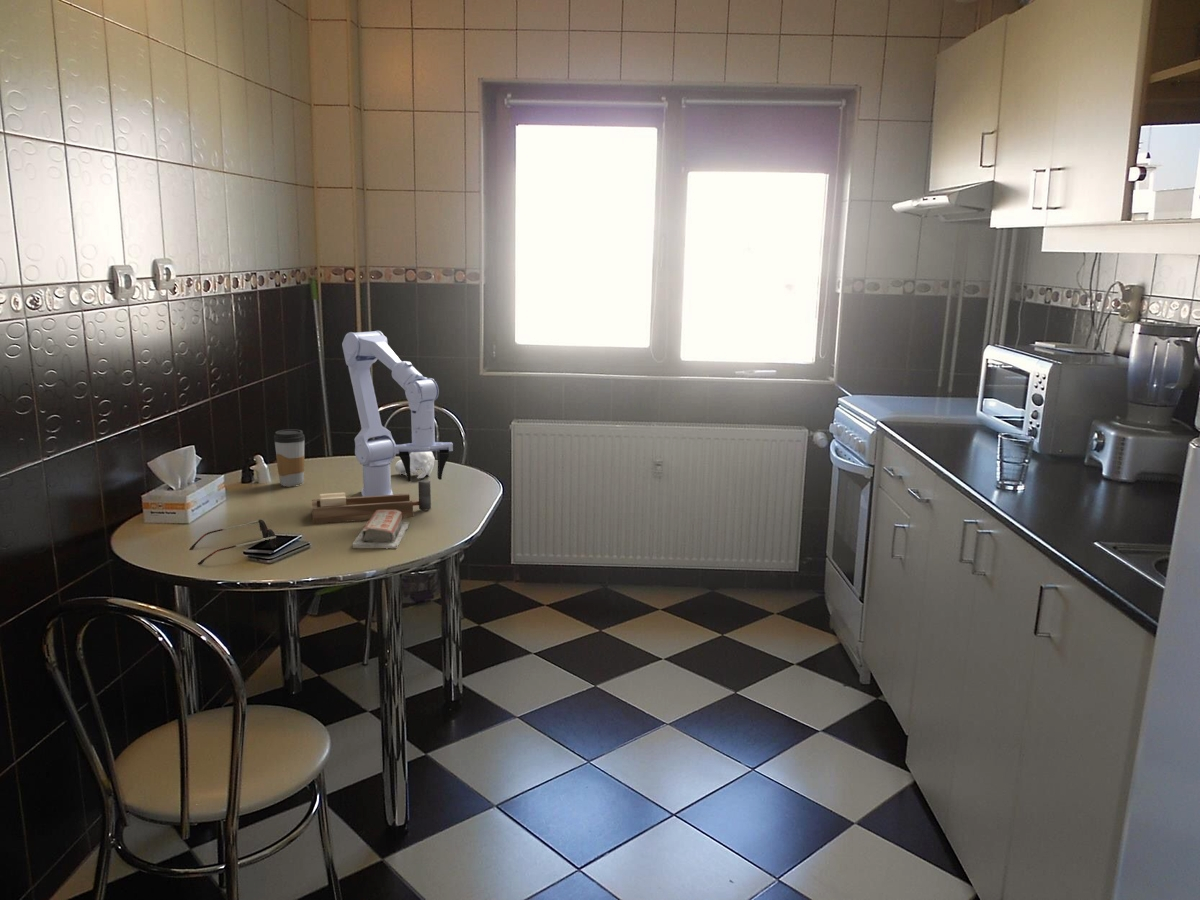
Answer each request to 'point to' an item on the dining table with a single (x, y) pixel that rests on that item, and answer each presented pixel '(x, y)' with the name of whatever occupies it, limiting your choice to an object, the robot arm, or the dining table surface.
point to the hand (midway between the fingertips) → (424, 479)
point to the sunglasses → (265, 533)
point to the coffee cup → (290, 456)
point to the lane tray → (361, 508)
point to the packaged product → (382, 530)
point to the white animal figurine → (418, 463)
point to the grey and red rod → (423, 502)
